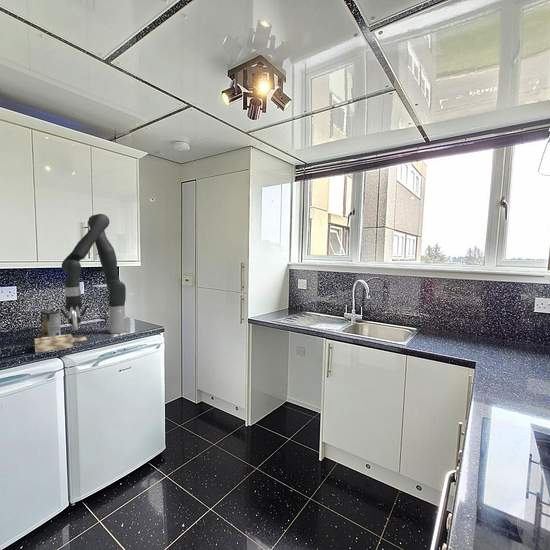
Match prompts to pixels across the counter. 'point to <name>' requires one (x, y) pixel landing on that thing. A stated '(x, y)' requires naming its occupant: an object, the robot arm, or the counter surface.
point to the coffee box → (50, 323)
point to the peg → (74, 320)
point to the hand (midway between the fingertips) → (74, 324)
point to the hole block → (53, 343)
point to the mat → (79, 339)
